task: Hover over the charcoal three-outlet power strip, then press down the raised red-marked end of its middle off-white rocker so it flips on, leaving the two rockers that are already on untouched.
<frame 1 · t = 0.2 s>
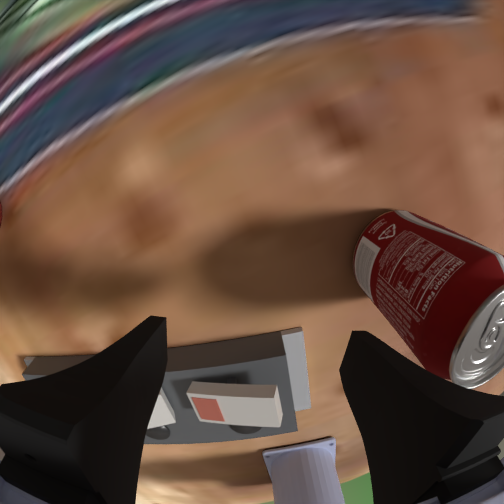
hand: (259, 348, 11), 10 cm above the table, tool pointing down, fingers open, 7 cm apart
rocker middle: (131, 412, 19), point 5 cm above the table, hinge at 15.0°
soda can: (389, 252, 21), on the table
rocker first: (235, 405, 19), point 5 cm above the table, hinge at -15.0°
power strip: (152, 390, 24), on the table
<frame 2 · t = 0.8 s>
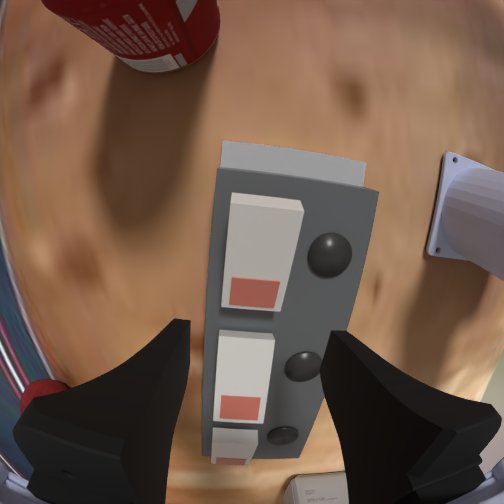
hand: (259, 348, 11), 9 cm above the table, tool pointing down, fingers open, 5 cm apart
rocker middle: (242, 379, 17), point 5 cm above the table, hinge at 15.0°
soda can: (169, 32, 15), on the table
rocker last: (232, 449, 20), point 5 cm above the table, hinge at -15.0°
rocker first: (258, 257, 15), point 5 cm above the table, hinge at -15.0°
power strip: (267, 340, 22), on the table
stereo radio cassette player: (355, 475, 31), on the table
onion: (64, 384, 23), on the table
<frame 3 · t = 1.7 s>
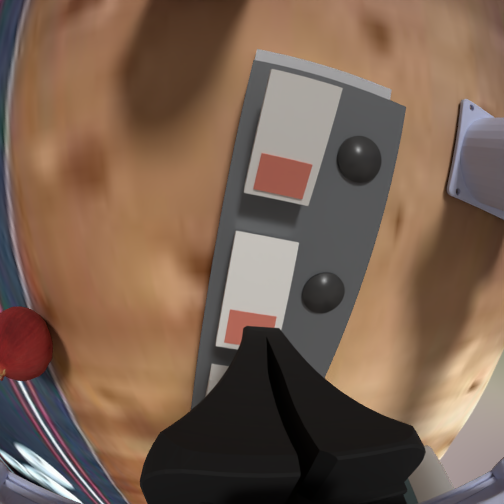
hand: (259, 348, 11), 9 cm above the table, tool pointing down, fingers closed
rocker middle: (255, 293, 16), point 5 cm above the table, hinge at 15.0°
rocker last: (230, 399, 18), point 5 cm above the table, hinge at -15.0°
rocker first: (290, 137, 13), point 5 cm above the table, hinge at -15.0°
power strip: (281, 268, 20), on the table
stereo radio cassette player: (353, 460, 29), on the table
onion: (42, 320, 21), on the table
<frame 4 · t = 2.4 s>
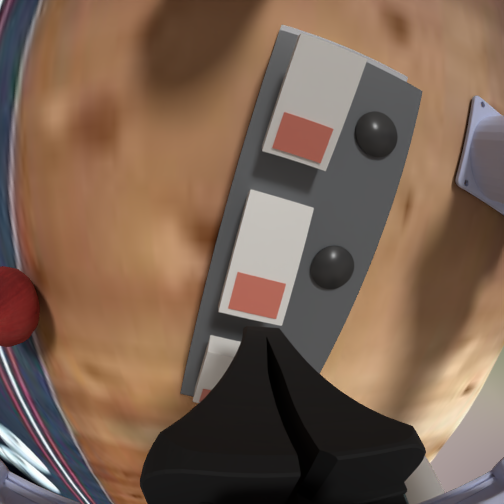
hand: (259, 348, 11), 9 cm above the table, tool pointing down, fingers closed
rocker middle: (265, 258, 15), point 5 cm above the table, hinge at 15.0°
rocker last: (226, 378, 17), point 5 cm above the table, hinge at -15.0°
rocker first: (313, 101, 13), point 5 cm above the table, hinge at -15.0°
power strip: (288, 242, 20), on the table
stereo radio cassette player: (343, 460, 29), on the table
onion: (31, 285, 20), on the table
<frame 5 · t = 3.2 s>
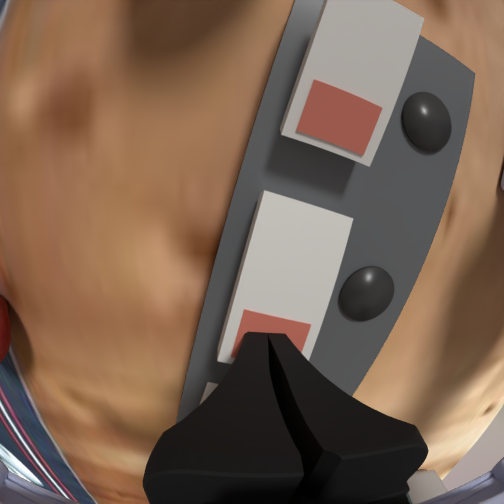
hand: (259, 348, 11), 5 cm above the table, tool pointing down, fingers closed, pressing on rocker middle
rocker middle: (282, 288, 11), point 5 cm above the table, hinge at 13.3°, touching gripper
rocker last: (228, 426, 13), point 5 cm above the table, hinge at -15.0°
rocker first: (353, 68, 8), point 5 cm above the table, hinge at -15.0°
power strip: (308, 257, 15), on the table
stereo radio cassette player: (353, 484, 25), on the table
onion: (4, 300, 16), on the table
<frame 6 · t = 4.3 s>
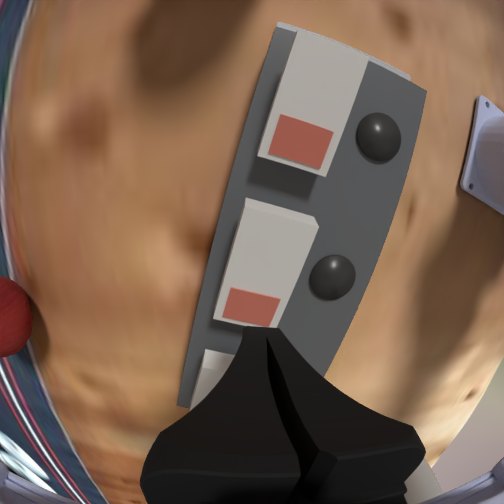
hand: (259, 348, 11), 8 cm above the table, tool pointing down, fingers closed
rocker middle: (261, 270, 14), point 5 cm above the table, hinge at -9.6°
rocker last: (222, 391, 16), point 5 cm above the table, hinge at -15.0°
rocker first: (312, 102, 12), point 5 cm above the table, hinge at -15.0°
power strip: (286, 250, 19), on the table
stereo radio cassette player: (343, 466, 28), on the table
onion: (24, 294, 19), on the table
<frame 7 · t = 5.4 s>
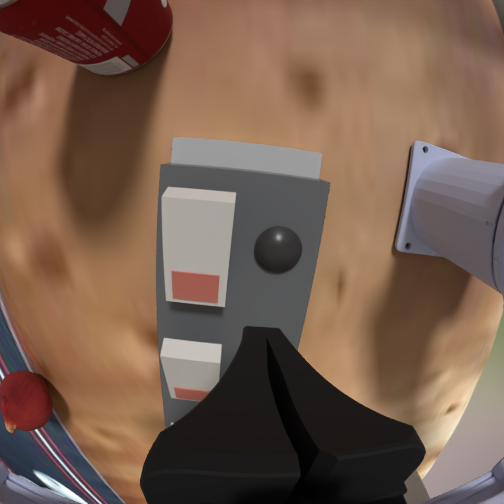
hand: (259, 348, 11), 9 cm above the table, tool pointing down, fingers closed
rocker middle: (193, 375, 17), point 5 cm above the table, hinge at -21.7°, touching power strip
soda can: (127, 35, 15), on the table
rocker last: (194, 445, 20), point 5 cm above the table, hinge at -15.0°
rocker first: (197, 251, 15), point 5 cm above the table, hinge at -15.0°
power strip: (227, 337, 22), on the table
stereo radio cassette player: (336, 478, 31), on the table
onion: (41, 376, 23), on the table
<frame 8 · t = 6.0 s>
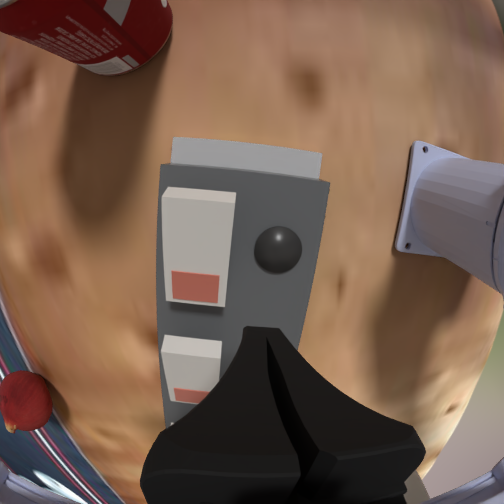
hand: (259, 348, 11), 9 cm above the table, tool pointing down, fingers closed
rocker middle: (193, 375, 17), point 5 cm above the table, hinge at -16.7°
soda can: (127, 35, 15), on the table
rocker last: (194, 445, 20), point 5 cm above the table, hinge at -15.0°
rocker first: (197, 251, 15), point 5 cm above the table, hinge at -15.0°
power strip: (227, 337, 22), on the table
stereo radio cassette player: (336, 478, 31), on the table
onion: (41, 376, 23), on the table
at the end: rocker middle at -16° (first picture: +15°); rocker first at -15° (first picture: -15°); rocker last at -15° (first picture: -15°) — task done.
